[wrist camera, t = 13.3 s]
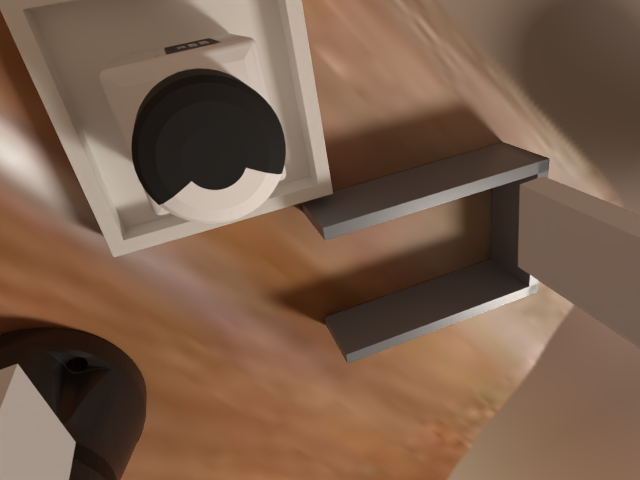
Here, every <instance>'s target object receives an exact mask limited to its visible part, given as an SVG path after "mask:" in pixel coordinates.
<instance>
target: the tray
mask: <svg viewBox="0 0 640 480" xmlns="http://www.w3.org/2000/svg"><path fill="white" fill-rule="evenodd" d="M0 11H1V13H2V15H3V17H4V19H5V22H6V24H7V26H8V28H9V30H10V32H11V35H12V37H13V39H14V41H15V43H16V46H17V48H18V50H19V52H20V54H21V56H22V59H23V61H24V63H25V65H26V67H27V69H28V72H29V74H30V76H31V78H32V80H33V83H34V85H35V87H36V89H37V91H38V93H39V96H40V98H41V100H42V102H43V104H44V106H45V109H46V111H47V113H48V115H49V117H50V120H51V122H52V124H53V126H54V128H55V130H56V133H57V135H58V137H59V139H60V141H61V143H62V146H63V148H64V150H65V152H66V154H67V157H68V159H69V161H70V163H71V165H72V167H73V170H74V172H75V174H76V176H77V178H78V180H79V183H80V185H81V187H82V189H83V191H84V194H85V196H86V198H87V200H88V202H89V204H90V207H91V209H92V211H93V213H94V215H95V217H96V220H97V222H98V224H99V226H100V228H101V231H102V233H103V235H104V237H105V239H106V241H107V244H108V246H109V248H110V250H111V252H112V255H113V257H117V256H121V255H124V254H128V253H131V252H134V251H138V250H141V249H145V248H148V247H152V246H155V245H158V244H162V243H165V242H169V241H172V240H176V239H179V238H182V237H186V236H189V235H193V234H196V233H200V232H203V231H206V230H210V229H213V228H217V227H220V226H224V225H227V224H230V223H234V222H237V221H241V220H244V219H248V218H251V217H254V216H258V215H261V214H265V213H268V212H272V211H275V210H278V209H282V208H285V207H289V206H292V205H296V204H299V203H302V202H306V201H309V200H313V199H316V198H320V197H323V196H326V195H330V194H333V189H332V183H331V177H330V171H329V165H328V159H327V153H326V147H325V141H324V135H323V128H322V122H321V116H320V110H319V104H318V98H317V92H316V86H315V80H314V74H313V68H312V61H311V55H310V49H309V43H308V37H307V31H306V25H305V19H304V13H303V7H302V1H301V0H0ZM223 34H235V35H240V36H245V37H250V38H252V39H254V40H255V41H256V43H257V47H258V51H259V56H260V60H261V64H262V69H263V73H264V77H265V82H266V86H267V90H268V95H269V99H270V103H271V107H272V109H273V110H274V112H275V113H276V115H277V117H278V119H279V121H280V123H281V126H282V129H283V133H284V137H285V144H286V157H285V168H286V177H285V179H283V180H281V181H279V182H278V184H277V186H276V188H275V189H274V191H273V192H272V193H271V195H270V196H269V197H268V199H267V200H266V201H265V202H264V203H262V204H261V205H260V206H259V207H258V208H256V209H255V210H254V211H252V212H250V213H249V214H247V215H245V216H243V217H241V218H238V219H236V220H232V221H228V222H223V223H216V224H205V223H196V222H192V221H188V220H185V219H182V218H179V217H177V216H175V215H173V214H171V213H168V214H165V215H156V214H155V213H154V212H153V211H152V208H151V206H150V203H149V201H148V198H147V196H146V194H145V191H144V189H143V186H142V184H141V183H140V181H139V179H138V177H137V174H136V172H135V169H134V165H133V161H132V159H131V157H130V154H129V152H128V149H127V147H126V144H125V142H124V139H123V137H122V134H121V132H120V129H119V127H118V124H117V122H116V119H115V117H114V115H113V112H112V110H111V107H110V105H109V102H108V100H107V97H106V95H105V92H104V90H103V87H102V85H101V82H100V79H99V74H100V72H101V71H102V70H103V69H104V68H105V67H106V66H107V65H108V64H109V63H110V62H111V61H112V60H113V59H115V58H119V57H124V56H128V55H133V54H137V53H142V52H146V51H151V50H155V49H160V48H165V47H169V46H174V45H178V44H183V43H187V42H192V41H196V40H201V39H205V38H210V37H214V36H219V35H223Z"/></svg>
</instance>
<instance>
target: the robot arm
mask: <svg viewBox="0 0 640 480" xmlns="http://www.w3.org/2000/svg"><path fill="white" fill-rule="evenodd" d="M518 267H519V268H521V269H522V270H524V271H525V272H527V273H528V274H530V275H531V276H533V277H534V278H536V279H537V280H539V281H540V282H542V283H543V284H545V285H546V286H548V287H549V288H551V289H552V290H554V291H555V292H557V293H558V294H560V295H561V296H563V297H564V298H566V299H567V300H569V301H570V302H572V303H573V304H575V305H576V306H577V307H579V308H580V309H582V310H583V311H585V312H586V313H588V314H590V315H591V316H592V317H594V318H595V319H597V320H599V321H600V322H602V323H603V324H604V325H606V326H607V327H609V328H610V329H612V330H613V331H615V332H616V333H618V334H619V335H621V336H622V337H624V338H625V339H627V340H628V341H630V342H631V343H633V344H634V345H636V346H637V347H639V348H640V215H639V214H637V213H634V212H632V211H629V210H627V209H624V208H622V207H619V206H617V205H614V204H612V203H609V202H607V201H604V200H602V199H599V198H596V197H594V196H591V195H589V194H586V193H584V192H581V191H579V190H576V189H574V188H571V187H569V186H566V185H564V184H561V183H559V182H556V181H554V180H551V179H549V178H546V177H544V176H542V177H539V178H537V179H534V180H531V181H528V182H525V183H522V184H520V198H519V239H518ZM145 418H146V386H145V382H144V379H143V376H142V374H141V372H140V370H139V368H138V367H137V366H136V364H135V363H134V362H133V360H132V359H131V358H130V357H129V356H128V355H127V354H125V353H124V352H123V351H122V350H120V349H119V348H118V347H116V346H114V345H113V344H111V343H109V342H107V341H105V340H103V339H101V338H98V337H95V336H93V335H90V334H86V333H82V332H78V331H73V330H66V329H55V328H37V329H26V330H19V331H14V332H9V333H5V334H2V335H0V480H120V479H121V477H122V475H123V473H124V471H125V468H126V466H127V464H128V462H129V460H130V457H131V455H132V453H133V450H134V448H135V446H136V443H137V442H138V440H139V438H140V436H141V433H142V430H143V427H144V423H145Z"/></svg>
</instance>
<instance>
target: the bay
mask: <svg viewBox="0 0 640 480" xmlns="http://www.w3.org/2000/svg"><path fill="white" fill-rule="evenodd" d="M548 170H549V158H547V157H544V156H541V155H538V154H535V153H532V152H530V151H527V150H524V149H521V148H518V147H515V146H513V145H510V144H507V143H504V142H502V143H498V144H495V145H491V146H488V147H484V148H481V149H478V150H474V151H471V152H467V153H464V154H460V155H457V156H453V157H450V158H447V159H443V160H440V161H436V162H433V163H429V164H426V165H422V166H419V167H416V168H412V169H409V170H405V171H402V172H398V173H395V174H392V175H388V176H385V177H381V178H378V179H374V180H371V181H367V182H364V183H361V184H357V185H354V186H350V187H347V188H343V189H340V190H336V191H333V194H330V195H326V196H323V197H320V198H316V199H313V200H309V201H306V202H302V203H301V204H302V209H303V213H304V214H305V215H306V216H307V218H308V219H309V220H310V222H311V223H312V224H313V225H314V227H315V228H316V229H317V231H318V232H319V233H320V235H321V236H322V237H323V238H324V240H328V239H331V238H335V237H338V236H341V235H344V234H347V233H351V232H354V231H357V230H360V229H363V228H366V227H370V226H373V225H376V224H379V223H382V222H386V221H389V220H392V219H395V218H398V217H402V216H405V215H408V214H411V213H414V212H418V211H421V210H424V209H427V208H430V207H434V206H437V205H440V204H443V203H446V202H449V201H453V200H456V199H459V198H462V197H465V196H469V195H472V194H475V193H478V192H481V191H485V190H488V189H491V188H492V217H491V257H490V259H489V260H486V261H483V262H481V263H478V264H475V265H472V266H469V267H466V268H463V269H461V270H458V271H455V272H452V273H449V274H446V275H443V276H441V277H438V278H435V279H432V280H429V281H426V282H423V283H421V284H418V285H415V286H412V287H409V288H406V289H403V290H401V291H398V292H395V293H392V294H389V295H386V296H383V297H381V298H378V299H375V300H372V301H369V302H366V303H364V304H361V305H358V306H355V307H352V308H349V309H346V310H344V311H341V312H338V313H335V314H332V315H329V316H326V317H325V322H326V326H327V328H328V329H329V331H330V333H331V335H332V337H333V338H334V340H335V342H336V344H337V345H338V347H339V349H340V351H341V353H342V354H343V356H344V358H345V360H346V361H347V363H351V362H353V361H356V360H359V359H361V358H364V357H367V356H369V355H372V354H375V353H377V352H380V351H383V350H385V349H388V348H390V347H393V346H396V345H398V344H401V343H404V342H406V341H409V340H412V339H414V338H417V337H420V336H422V335H425V334H428V333H430V332H433V331H436V330H438V329H441V328H444V327H446V326H449V325H451V324H454V323H457V322H459V321H462V320H465V319H467V318H470V317H473V316H475V315H478V314H481V313H483V312H486V311H489V310H491V309H494V308H497V307H499V306H502V305H505V304H507V303H510V302H512V301H515V300H518V299H520V298H523V297H526V296H528V295H531V294H534V293H536V292H538V282H539V280H537V279H536V278H534V277H533V276H531V275H530V274H528V273H527V272H525V271H524V270H522V269H521V268H519V267H518V239H519V198H520V184H522V183H525V182H528V181H531V180H534V179H537V178H539V177H542V176H544V177H546V178H548Z"/></svg>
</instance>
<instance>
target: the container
mask: <svg viewBox="0 0 640 480" xmlns="http://www.w3.org/2000/svg"><path fill="white" fill-rule="evenodd" d="M99 79H100V82H101V85H102V87H103V90H104V92H105V95H106V97H107V100H108V102H109V105H110V107H111V110H112V112H113V115H114V117H115V119H116V122H117V124H118V127H119V129H120V132H121V134H122V137H123V139H124V142H125V144H126V147H127V149H128V152H129V154H130V157H131V159H132V161H133V165H134V169H135V172H136V174H137V177H138V179H139V181H140V183H141V184H142V186H143V189H144V191H145V194H146V196H147V198H148V201H149V203H150V206H151V208H152V211H153V212H154V213H155V214H156V215H165V214H168V213H171V214H173V215H175V216H177V217H179V218H182V219H185V220H188V221H192V222H196V223H205V224H216V223H223V222H228V221H232V220H236V219H238V218H241V217H243V216H245V215H247V214H249V213H250V212H252V211H254V210H255V209H256V208H258V207H259V206H260V205H261V204H262V203H264V202H265V201H266V200H267V199H268V197H269V196H270V195H271V193H272V192H273V191H274V189H275V188H276V186H277V184H278V182H279V181H281V180H283V179H285V177H286V168H285V157H286V144H285V137H284V133H283V129H282V126H281V123H280V121H279V119H278V117H277V115H276V113H275V112H274V110H273V109H272V107H271V103H270V99H269V95H268V90H267V86H266V82H265V77H264V73H263V69H262V64H261V60H260V56H259V51H258V47H257V43H256V41H255V40H254V39H252V38H250V37H245V36H240V35H235V34H223V35H219V36H214V37H210V38H205V39H201V40H196V41H192V42H187V43H183V44H178V45H174V46H169V47H165V48H160V49H155V50H151V51H146V52H142V53H137V54H133V55H128V56H124V57H119V58H115V59H113V60H112V61H111V62H110V63H109V64H108V65H107V66H106V67H105V68H104V69H103V70H102V71H101V72H100V74H99Z"/></svg>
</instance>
